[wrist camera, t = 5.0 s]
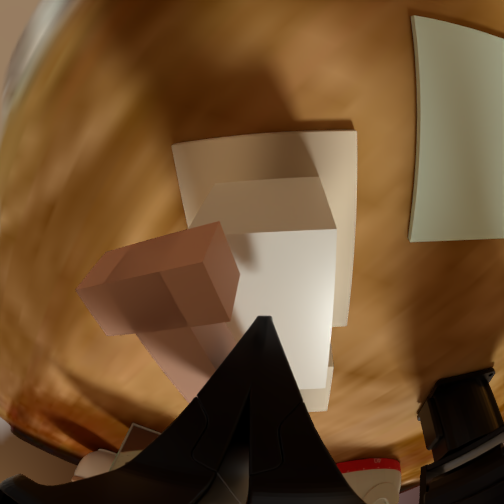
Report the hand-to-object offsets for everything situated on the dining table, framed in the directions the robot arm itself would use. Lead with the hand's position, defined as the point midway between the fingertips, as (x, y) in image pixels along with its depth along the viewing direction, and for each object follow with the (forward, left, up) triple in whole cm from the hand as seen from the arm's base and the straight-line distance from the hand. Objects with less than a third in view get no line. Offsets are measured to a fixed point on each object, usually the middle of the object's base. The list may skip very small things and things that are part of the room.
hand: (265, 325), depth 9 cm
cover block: (0, +2, -7) cm, 7 cm away
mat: (-11, -4, -7) cm, 14 cm away
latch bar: (+1, +4, 0) cm, 4 cm away
